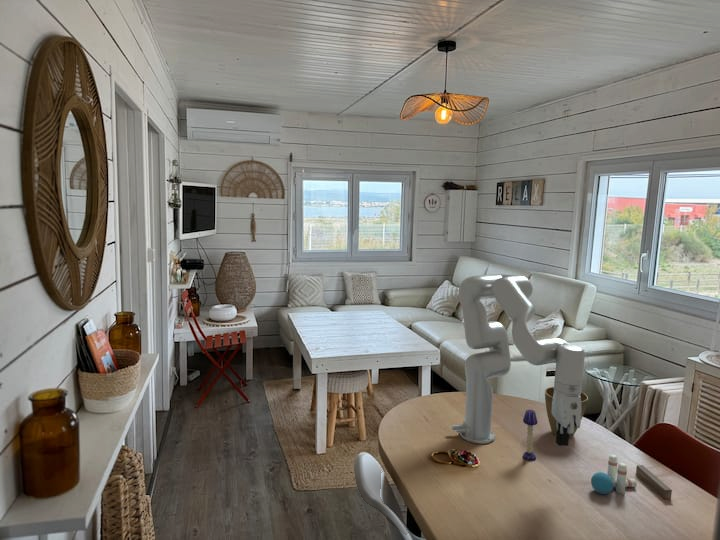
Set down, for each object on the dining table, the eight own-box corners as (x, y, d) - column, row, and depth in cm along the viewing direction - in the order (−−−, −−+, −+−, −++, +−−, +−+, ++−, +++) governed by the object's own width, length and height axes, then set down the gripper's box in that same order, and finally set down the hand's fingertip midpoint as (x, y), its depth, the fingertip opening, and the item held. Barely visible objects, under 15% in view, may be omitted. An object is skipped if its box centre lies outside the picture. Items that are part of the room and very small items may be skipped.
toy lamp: (528, 462, 166) (531, 414, 164) (517, 456, 170) (520, 409, 168) (538, 459, 169) (541, 412, 166) (528, 453, 173) (531, 407, 170)
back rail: (664, 499, 146) (665, 490, 146) (635, 474, 160) (636, 465, 160) (670, 499, 146) (671, 489, 146) (641, 473, 160) (642, 465, 160)
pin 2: (618, 493, 149) (620, 467, 148) (613, 489, 151) (616, 462, 150) (626, 493, 149) (629, 466, 148) (621, 488, 151) (624, 462, 150)
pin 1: (609, 484, 154) (611, 458, 153) (605, 479, 156) (607, 454, 155) (617, 484, 154) (619, 458, 153) (612, 479, 156) (615, 454, 155)
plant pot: (541, 439, 183) (544, 397, 181) (542, 423, 197) (545, 384, 195) (586, 446, 178) (589, 404, 176) (583, 429, 192) (586, 389, 190)
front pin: (610, 482, 151) (637, 482, 151) (605, 477, 153) (632, 476, 154) (608, 489, 151) (635, 489, 152) (604, 484, 154) (631, 483, 154)
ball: (615, 498, 147) (593, 497, 149) (610, 480, 152) (589, 479, 154) (615, 486, 144) (592, 485, 146) (611, 468, 149) (589, 467, 151)
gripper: (592, 397, 141) (586, 457, 143) (568, 377, 155) (562, 432, 158) (566, 396, 140) (560, 457, 143) (544, 377, 155) (539, 432, 158)
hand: (561, 444), depth 151 cm, fingers closed
